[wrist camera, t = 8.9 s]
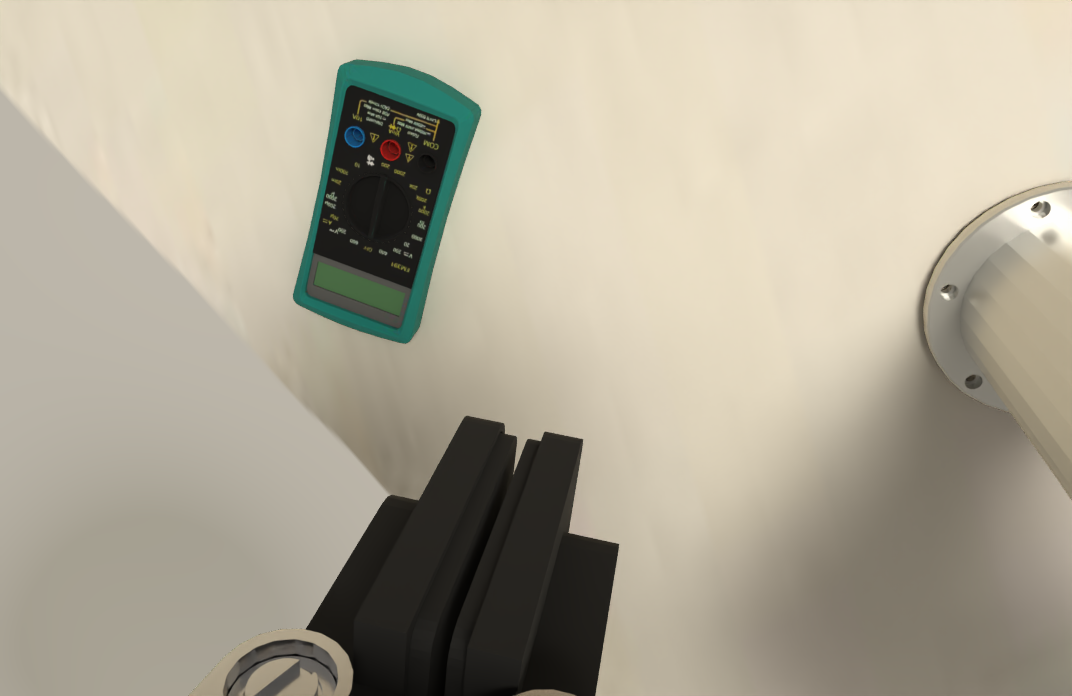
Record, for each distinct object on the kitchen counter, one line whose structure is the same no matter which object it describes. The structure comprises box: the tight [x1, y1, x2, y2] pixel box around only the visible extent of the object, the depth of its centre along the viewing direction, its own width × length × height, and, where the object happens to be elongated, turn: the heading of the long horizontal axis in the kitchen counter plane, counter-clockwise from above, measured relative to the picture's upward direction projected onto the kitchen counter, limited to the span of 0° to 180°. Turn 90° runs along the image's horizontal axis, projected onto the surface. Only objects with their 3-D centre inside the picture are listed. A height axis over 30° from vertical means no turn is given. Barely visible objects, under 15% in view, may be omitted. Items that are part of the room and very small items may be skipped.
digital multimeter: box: [293, 60, 481, 343], centre depth 44 cm, size 7×15×3 cm, turn 162°
